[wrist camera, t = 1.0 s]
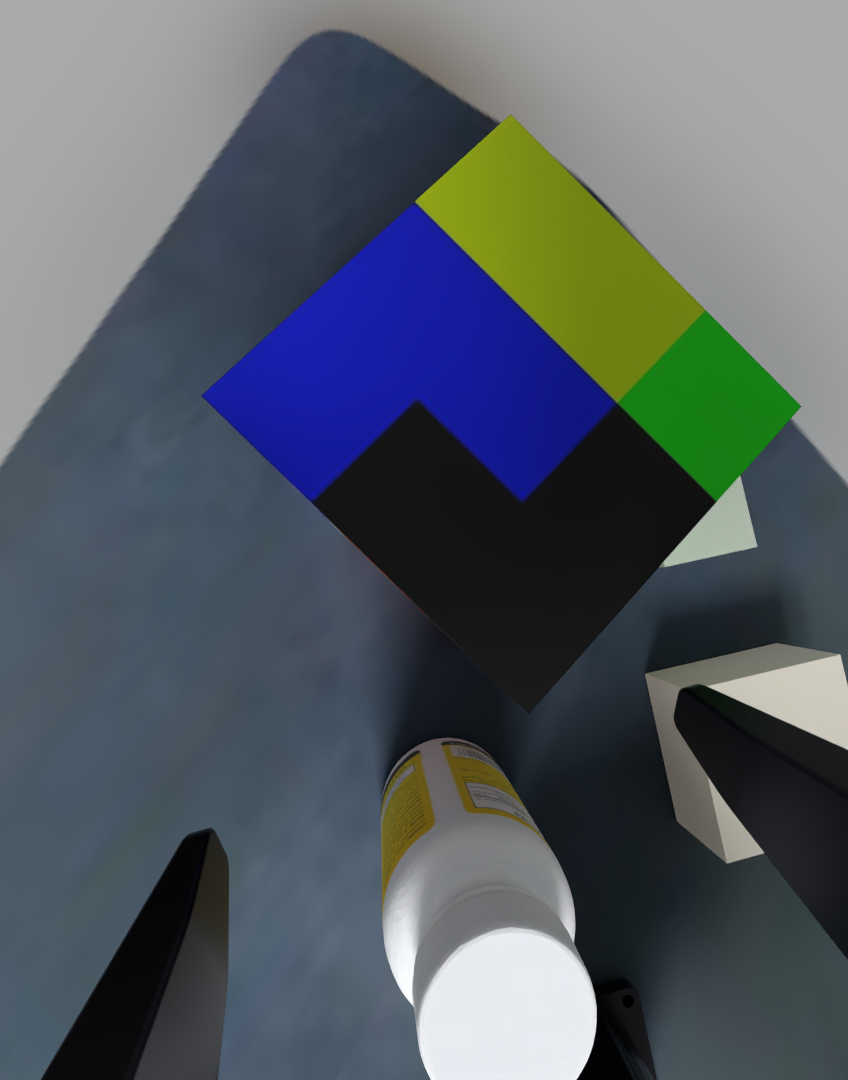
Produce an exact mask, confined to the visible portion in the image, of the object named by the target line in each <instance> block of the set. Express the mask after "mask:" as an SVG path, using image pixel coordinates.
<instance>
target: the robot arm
mask: <svg viewBox="0 0 848 1080" xmlns="http://www.w3.org/2000/svg"><path fill="white" fill-rule="evenodd" d="M673 718H674V723H675V726H676V728H677V730H678V731H679V733H680V734H681V736H682V738H683V739H684V741H685V742H686V744H687V745H688V747H689V748H690V750H691V751H692V753H693V754H694V756H695V758H696V759H697V761H698V762H699V764H700V765H701V767H702V768H703V770H704V771H705V773H706V774H707V776H708V777H709V779H710V781H711V782H712V784H713V785H714V787H715V788H716V790H717V791H718V793H719V794H720V796H721V797H722V798H723V800H724V801H725V803H726V804H727V805H728V807H729V808H730V809H731V811H732V812H733V813H734V815H735V816H736V817H737V818H738V820H739V821H740V822H741V824H742V825H743V826H744V827H745V829H746V830H747V831H748V833H749V834H750V835H751V836H752V838H753V839H754V840H755V842H756V843H757V844H758V845H759V847H760V848H761V849H762V850H763V852H764V853H765V854H766V856H767V857H768V858H769V859H770V861H771V862H772V863H773V865H774V866H775V867H776V868H777V870H778V871H779V872H780V874H781V875H782V876H783V877H784V879H785V880H786V881H787V883H788V884H789V885H790V886H791V888H792V889H793V890H794V891H795V893H796V894H797V895H798V897H799V898H800V899H801V900H802V902H803V903H804V904H805V906H806V907H807V908H808V909H809V911H810V912H811V913H812V915H813V916H814V917H815V918H816V920H817V921H818V922H819V923H820V925H821V926H822V927H823V929H824V930H825V931H826V932H827V934H828V935H829V936H830V938H831V939H832V940H833V941H834V943H835V944H836V945H837V947H838V948H839V949H840V950H841V952H842V953H843V954H844V955H845V957H846V958H847V959H848V750H847V749H845V748H843V747H841V746H839V745H836V744H834V743H832V742H830V741H827V740H825V739H823V738H821V737H819V736H816V735H814V734H812V733H810V732H807V731H805V730H803V729H801V728H798V727H796V726H794V725H792V724H790V723H787V722H785V721H783V720H781V719H778V718H776V717H774V716H772V715H770V714H767V713H765V712H763V711H761V710H758V709H756V708H754V707H752V706H750V705H747V704H745V703H743V702H741V701H738V700H736V699H734V698H732V697H730V696H727V695H725V694H723V693H721V692H718V691H716V690H714V689H712V688H710V687H707V686H705V685H702V684H694V685H691V686H687V687H684V688H682V689H680V690H679V693H678V697H677V701H676V706H675V711H674V717H673ZM228 929H229V864H228V858H227V855H226V853H225V851H224V849H223V846H222V844H221V842H220V840H219V838H218V836H217V834H216V832H215V831H214V830H213V829H212V828H207V829H204V830H200V831H197V832H193V833H190V834H188V835H187V836H186V837H185V838H184V839H183V840H182V842H181V843H180V845H179V847H178V848H177V850H176V852H175V854H174V855H173V857H172V859H171V860H170V862H169V864H168V865H167V867H166V869H165V870H164V872H163V874H162V875H161V877H160V879H159V881H158V882H157V884H156V886H155V887H154V889H153V891H152V892H151V894H150V896H149V897H148V899H147V901H146V902H145V904H144V906H143V908H142V909H141V911H140V913H139V914H138V916H137V918H136V919H135V921H134V923H133V924H132V926H131V928H130V930H129V931H128V933H127V935H126V936H125V938H124V940H123V941H122V943H121V945H120V946H119V948H118V950H117V951H116V953H115V955H114V957H113V958H112V960H111V962H110V963H109V965H108V967H107V968H106V970H105V972H104V973H103V975H102V977H101V978H100V980H99V982H98V984H97V985H96V987H95V989H94V990H93V992H92V994H91V995H90V997H89V999H88V1000H87V1002H86V1004H85V1005H84V1007H83V1009H82V1011H81V1012H80V1014H79V1016H78V1017H77V1019H76V1021H75V1022H74V1024H73V1026H72V1027H71V1029H70V1031H69V1033H68V1034H67V1036H66V1038H65V1039H64V1041H63V1043H62V1044H61V1046H60V1048H59V1049H58V1051H57V1053H56V1054H55V1056H54V1058H53V1060H52V1061H51V1063H50V1065H49V1066H48V1068H47V1070H46V1071H45V1073H44V1075H43V1076H42V1078H41V1080H218V1073H219V1063H220V1053H221V1044H222V1034H223V1024H224V1015H225V1005H226V995H227V982H228ZM593 989H594V993H595V999H596V1006H597V1023H596V1033H595V1038H594V1043H593V1047H592V1050H591V1053H590V1055H589V1058H588V1061H587V1063H586V1065H585V1066H584V1068H583V1070H582V1072H581V1073H580V1075H579V1077H578V1078H577V1080H657V1079H656V1074H655V1069H654V1065H653V1060H652V1055H651V1050H650V1046H649V1041H648V1036H647V1031H646V1026H645V1022H644V1017H643V1012H642V1007H641V1003H640V998H639V995H638V993H637V991H636V990H635V988H634V986H633V985H632V984H631V983H630V982H629V981H627V980H619V981H616V982H613V983H609V984H606V985H603V986H599V987H596V988H593ZM628 994H629V995H628ZM625 995H628V996H627V997H626V998H625V999H623V997H624V996H625Z"/></svg>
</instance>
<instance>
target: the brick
mask: <svg viewBox="0 0 848 1080" xmlns="http://www.w3.org/2000/svg"><path fill="white" fill-rule="evenodd" d="M755 547H757V543H756V539H755V535H754V531H753V527H752V523H751V519H750V514H749V510H748V506H747V502H746V498H745V494H744V490H743V485H742V481H741V477H740V476H739V477H738V478H737V480H736V481H735V482H734V483H733V484H732V485H731V486H730V487H729V489H728V490H727V491H726V492H725V493H724V494H723V495H722V496H721V498H720V499H719V500H718V501H717V502H716V503H715V504H714V506H713V507H712V508H711V509H710V510H709V511H708V512H707V513H706V515H705V516H704V517H703V518H702V519H701V520H700V521H699V522H698V524H697V525H696V526H695V527H694V528H693V529H692V530H691V531H690V533H689V534H688V535H687V536H686V537H685V538H684V539H683V540H682V542H681V543H680V544H679V545H678V546H677V547H676V548H675V550H674V551H673V552H672V553H671V554H670V555H669V556H668V557H667V559H666V560H665V561H664V562H663V563H662V564H661V565H660V566H659V567H668V566H672V565H677V564H681V563H686V562H690V561H695V560H700V559H704V558H709V557H713V556H718V555H723V554H727V553H732V552H736V551H741V550H745V549H750V548H755Z"/></svg>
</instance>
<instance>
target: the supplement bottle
mask: <svg viewBox="0 0 848 1080" xmlns="http://www.w3.org/2000/svg"><path fill="white" fill-rule="evenodd" d="M381 837H382V921H383V934H384V944H385V949H386V953H387V958H388V961H389V964H390V967H391V970H392V972H393V975H394V977H395V979H396V981H397V984H398V985H399V987H400V989H401V991H402V993H403V994H404V995H405V996H406V998H407V999H408V1000H409V1002H410V1003H411V1004H412V1005H413V1006H414V1011H415V1019H416V1028H417V1037H418V1044H419V1049H420V1054H421V1057H422V1060H423V1063H424V1066H425V1068H426V1071H427V1073H428V1075H429V1077H430V1079H431V1080H577V1078H578V1077H579V1075H580V1073H581V1072H582V1070H583V1068H584V1066H585V1065H586V1063H587V1061H588V1058H589V1055H590V1053H591V1050H592V1047H593V1043H594V1038H595V1033H596V1023H597V1006H596V999H595V993H594V989H593V985H592V982H591V979H590V976H589V974H588V971H587V969H586V967H585V965H584V963H583V961H582V959H581V957H580V955H579V953H578V951H577V949H576V947H575V945H574V937H575V910H574V904H573V898H572V895H571V891H570V888H569V885H568V882H567V880H566V877H565V875H564V873H563V870H562V868H561V866H560V864H559V862H558V860H557V858H556V857H555V855H554V853H553V852H552V850H551V848H550V847H549V845H548V843H547V842H546V841H545V839H544V837H543V835H542V834H541V832H540V831H539V829H538V828H537V826H536V824H535V823H534V821H533V819H532V818H531V816H530V815H529V813H528V811H527V809H526V808H525V806H524V805H523V803H522V801H521V800H520V798H519V797H518V795H517V793H516V792H515V790H514V789H513V787H512V785H511V784H510V782H509V780H508V779H507V777H506V776H505V774H504V773H503V771H502V769H501V768H500V766H499V765H498V764H497V762H496V761H495V760H494V759H493V758H492V757H491V756H490V755H489V754H488V753H487V752H486V751H484V750H483V749H482V748H480V747H478V746H477V745H475V744H473V743H471V742H468V741H465V740H462V739H457V738H439V739H434V740H430V741H427V742H424V743H422V744H420V745H418V746H416V747H414V748H413V749H411V750H410V751H409V752H407V753H406V754H405V755H404V756H403V757H402V758H401V759H400V760H399V761H398V762H397V764H396V765H395V766H394V768H393V769H392V771H391V773H390V775H389V777H388V779H387V781H386V784H385V787H384V791H383V795H382V802H381Z"/></svg>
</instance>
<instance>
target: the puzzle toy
mask: <svg viewBox="0 0 848 1080" xmlns="http://www.w3.org/2000/svg"><path fill="white" fill-rule="evenodd" d="M201 396H202V397H203V398H204V399H205V400H206V401H207V402H208V403H209V404H210V405H211V406H212V407H213V408H214V409H215V410H216V411H217V412H218V413H219V414H220V415H222V416H223V417H224V418H225V419H226V420H227V421H228V422H229V423H230V424H231V425H232V426H233V427H234V428H235V429H236V430H237V431H238V432H239V433H240V434H241V435H242V436H243V437H244V438H245V439H246V440H247V441H248V442H249V443H250V444H251V445H252V446H253V447H254V448H255V449H256V450H257V451H258V452H259V453H260V454H261V455H262V456H263V457H264V458H265V459H266V460H267V461H268V462H269V463H270V464H272V465H273V466H274V467H275V468H276V469H277V470H278V471H279V472H280V473H281V474H282V475H283V476H284V477H285V478H286V479H287V480H288V481H289V482H290V483H291V484H292V485H293V486H294V487H295V488H296V489H297V490H298V491H299V492H300V493H301V494H302V495H303V496H304V497H305V498H306V499H307V500H308V501H309V502H310V503H311V504H312V505H314V506H315V507H316V508H317V509H318V510H319V511H320V512H321V513H322V514H323V515H324V516H325V517H326V518H327V519H328V520H329V521H330V522H331V523H332V524H333V525H334V526H335V527H336V528H337V529H338V530H339V531H340V532H341V533H342V534H343V535H344V536H345V537H346V538H347V539H348V540H350V541H351V542H352V543H353V544H354V545H355V546H356V547H357V548H358V549H359V550H360V551H361V552H362V553H363V554H364V555H365V556H366V557H367V558H368V559H369V560H370V561H371V562H372V563H373V564H374V565H375V566H376V567H377V568H378V569H379V570H380V571H381V572H382V573H383V574H384V575H385V576H387V577H388V578H389V579H390V580H391V581H392V582H393V583H394V584H395V585H396V586H397V587H398V588H399V589H400V590H401V591H402V592H403V593H404V594H405V595H406V596H407V597H408V598H409V599H410V600H411V601H412V602H413V603H414V604H415V605H416V606H417V607H418V608H419V609H420V610H421V611H422V612H424V613H425V614H426V615H427V616H428V617H429V618H430V619H431V620H432V621H433V622H434V623H435V624H436V625H437V626H438V627H439V628H440V629H441V630H442V631H443V632H444V633H445V634H446V635H447V636H448V637H449V638H450V639H451V640H452V641H453V642H454V643H455V644H456V645H457V646H458V647H460V648H461V649H462V650H463V651H464V652H465V653H466V654H467V655H468V656H469V657H470V658H471V659H472V660H473V661H474V662H475V663H476V664H477V665H478V666H479V667H480V668H481V669H482V670H483V671H484V672H485V673H486V674H488V675H489V676H490V677H491V678H492V679H493V680H494V681H495V682H496V683H497V684H498V685H499V686H500V687H501V688H502V689H503V690H504V691H505V692H506V693H507V694H508V695H509V696H510V697H511V698H512V699H513V700H514V701H516V702H517V703H518V704H519V705H520V706H521V707H522V708H523V709H524V710H525V711H526V712H527V713H528V714H529V713H530V712H531V711H532V710H533V709H534V707H535V706H536V705H537V704H538V703H539V702H540V701H541V700H542V698H543V697H544V696H545V695H546V694H547V693H548V692H549V691H550V689H551V688H552V687H553V686H554V685H555V684H556V683H557V682H558V680H559V679H560V678H561V677H562V676H563V675H564V674H565V672H566V671H567V670H568V669H569V668H570V667H571V666H572V665H573V663H574V662H575V661H576V660H577V659H578V658H579V657H580V656H581V654H582V653H583V652H584V651H585V650H586V649H587V648H588V647H589V645H590V644H591V643H592V642H593V641H594V640H595V639H596V638H597V636H598V635H599V634H600V633H601V632H602V631H603V630H604V628H605V627H606V626H607V625H608V624H609V623H610V622H611V621H612V619H613V618H614V617H615V616H616V615H617V614H618V613H619V612H620V610H621V609H622V608H623V607H624V606H625V605H626V604H627V603H628V601H629V600H630V599H631V598H632V597H633V596H634V595H635V594H636V592H637V591H638V590H639V589H640V588H641V587H642V586H643V584H644V583H645V582H646V581H647V580H648V579H649V578H650V577H651V575H652V574H653V573H654V572H655V571H656V570H657V569H658V568H659V566H660V565H661V564H662V563H663V562H664V561H665V560H666V559H667V557H668V556H669V555H670V554H671V553H672V552H673V551H674V550H675V548H676V547H677V546H678V545H679V544H680V543H681V542H682V540H683V539H684V538H685V537H686V536H687V535H688V534H689V533H690V531H691V530H692V529H693V528H694V527H695V526H696V525H697V524H698V522H699V521H700V520H701V519H702V518H703V517H704V516H705V515H706V513H707V512H708V511H709V510H710V509H711V508H712V507H713V506H714V504H715V503H716V502H717V501H718V500H719V499H720V498H721V496H722V495H723V494H724V493H725V492H726V491H727V490H728V489H729V487H730V486H731V485H732V484H733V483H734V482H735V481H736V480H737V478H738V477H739V476H740V475H741V474H742V473H743V472H744V471H745V469H746V468H747V467H748V466H749V465H750V464H751V463H752V462H753V460H754V459H755V458H756V457H757V456H758V455H759V454H760V452H761V451H762V450H763V449H764V448H765V447H766V446H767V445H768V443H769V442H770V441H771V440H772V439H773V438H774V437H775V436H776V434H777V433H778V432H779V431H780V430H781V429H782V428H783V427H784V425H785V424H786V423H787V422H788V421H789V420H790V419H791V418H792V416H793V415H794V414H795V413H796V412H797V411H798V410H799V408H800V407H801V406H800V405H799V404H798V403H797V402H796V401H795V400H794V399H793V398H792V397H791V396H790V394H789V393H788V392H787V391H786V390H784V389H783V388H782V386H780V384H779V383H777V382H776V380H775V379H773V377H772V376H771V375H770V374H769V373H768V372H767V371H766V370H765V369H764V368H763V367H762V366H761V365H760V364H759V363H758V362H757V361H755V359H754V358H752V356H751V355H750V354H749V353H748V352H747V351H746V350H745V349H744V348H743V347H742V346H741V345H740V344H739V343H738V342H737V341H736V340H735V339H734V338H733V337H732V336H731V335H730V334H729V333H728V332H727V331H726V330H725V329H724V328H723V327H722V326H721V325H720V324H719V323H718V322H717V321H716V320H715V319H714V318H713V317H712V316H711V315H710V314H709V313H708V312H707V311H706V310H705V309H704V308H703V307H702V306H701V305H700V304H699V303H698V302H697V301H696V300H695V299H694V298H693V297H692V296H691V295H690V294H689V293H688V292H687V291H686V290H685V289H684V288H683V287H682V286H681V285H680V284H679V283H678V282H677V281H676V280H675V279H674V278H673V277H672V276H671V275H670V274H669V273H668V272H667V271H666V270H665V269H664V268H663V267H662V266H661V265H660V264H659V263H658V262H657V261H656V260H655V259H654V258H653V257H652V256H651V255H650V254H649V253H648V252H647V251H646V250H645V249H644V248H643V247H642V246H641V245H640V244H639V243H638V242H637V241H636V240H635V239H634V238H633V237H632V236H631V235H630V234H629V233H628V232H627V231H626V230H625V229H624V228H623V227H622V226H621V225H620V224H619V223H618V222H617V221H616V220H615V219H614V218H613V217H612V216H611V215H610V214H609V213H608V212H607V211H606V210H605V209H604V208H603V207H602V206H601V205H600V204H599V203H598V202H597V201H596V200H595V199H594V198H593V197H592V196H591V195H590V194H589V192H588V191H587V190H586V189H585V188H584V187H583V186H582V185H581V184H580V183H579V182H578V181H577V180H576V179H575V178H574V177H573V176H572V175H571V174H570V173H569V172H568V171H567V170H566V169H565V168H564V167H563V166H562V165H561V164H560V163H559V162H558V161H557V160H556V159H555V158H554V157H553V156H552V155H551V154H550V153H549V152H548V151H547V150H546V149H545V148H544V147H543V146H542V145H541V144H540V143H539V142H538V141H537V140H536V139H535V138H533V136H532V135H531V134H530V133H529V132H528V131H527V130H526V129H525V128H524V127H523V126H522V125H521V124H520V123H519V122H518V121H517V120H516V119H515V118H514V117H513V116H512V115H509V116H508V117H507V118H506V119H505V120H504V121H503V122H502V123H501V124H500V125H498V126H497V127H496V128H495V129H494V130H493V131H492V132H491V133H490V134H489V135H487V136H486V137H485V138H484V139H483V140H482V141H481V142H480V143H479V144H478V145H476V146H475V147H474V148H473V149H472V150H471V151H470V152H469V153H468V154H467V155H465V156H464V157H463V158H462V159H461V160H460V161H459V162H458V163H457V164H456V165H454V166H453V167H452V168H451V169H450V170H449V171H448V172H447V173H446V174H445V175H443V176H442V177H441V178H440V179H439V180H438V181H437V182H436V183H435V184H434V185H432V186H431V187H430V188H429V189H428V190H427V191H426V192H425V193H424V194H423V195H421V196H420V197H419V198H418V199H417V200H416V201H415V202H414V203H413V204H412V205H410V206H409V207H408V208H407V209H406V210H405V211H404V212H403V213H402V214H401V215H399V216H398V217H397V218H396V219H395V220H394V221H393V222H392V223H391V224H390V225H388V226H387V227H386V228H385V229H384V230H383V231H382V232H381V233H380V234H379V235H377V236H376V237H375V238H374V239H373V240H372V241H371V242H370V243H369V244H368V245H366V246H365V247H364V248H363V249H362V250H361V251H360V252H359V253H358V254H357V255H355V256H354V257H353V258H352V259H351V260H350V261H349V262H348V263H347V264H346V265H344V266H343V267H342V268H341V269H340V270H339V271H338V272H337V273H336V274H335V275H333V276H332V277H331V278H330V279H329V280H328V281H327V282H326V283H325V284H324V285H322V286H321V287H320V288H319V289H318V290H317V291H316V292H315V293H314V294H313V295H311V296H310V297H309V298H308V299H307V300H306V301H305V302H304V303H303V304H302V305H300V306H299V307H298V308H297V309H296V310H295V311H294V312H293V313H292V314H291V315H289V316H288V317H287V318H286V319H285V320H284V321H283V322H282V323H281V324H280V325H278V326H277V327H276V328H275V329H274V330H273V331H272V332H271V333H270V334H268V335H267V336H266V337H265V338H264V339H263V340H262V341H261V342H260V343H259V344H257V345H256V346H255V347H254V348H253V349H252V350H251V351H250V352H249V353H248V354H246V355H245V356H244V357H243V358H242V359H241V360H240V361H239V362H238V363H237V364H235V365H234V366H233V367H232V368H231V369H230V370H229V371H228V372H227V373H226V374H224V375H223V376H222V377H221V378H220V379H219V380H218V381H217V382H216V383H215V384H213V385H212V386H211V387H210V388H209V389H208V390H207V391H206V392H205V393H204V394H202V395H201Z"/></svg>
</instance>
